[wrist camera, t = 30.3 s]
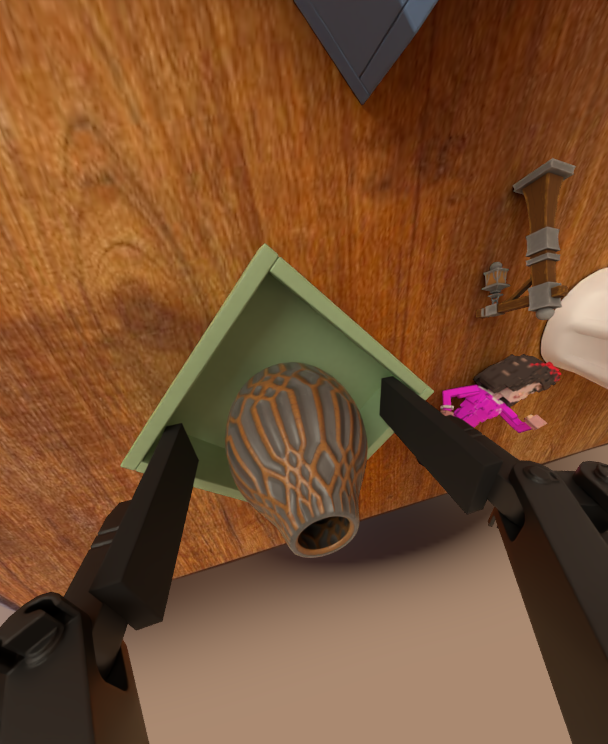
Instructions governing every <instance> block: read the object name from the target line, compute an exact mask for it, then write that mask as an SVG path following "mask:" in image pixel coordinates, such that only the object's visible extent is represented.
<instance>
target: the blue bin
mask: <svg viewBox="0 0 608 744" xmlns="http://www.w3.org/2000/svg"><path fill="white" fill-rule="evenodd" d="M294 2H295V3H296V5H297V6H298V8H299V9H300V11H301V12H302V14H303V15H304V17H305V18H306V20H307V22H308V23H309V25H310V26H311V28H312V29H313V31H314V32H315V34H316V35H317V37H318V38H319V40H320V41H321V43H322V44H323V46H324V48H325V49H326V51H327V52H328V54H329V55H330V57H331V58H332V60H333V61H334V63H335V64H336V66H337V67H338V69H339V71H340V72H341V74H342V75H343V77H344V78H345V80H346V81H347V83H348V84H349V86H350V87H351V89H352V90H353V92H354V94H355V95H356V97H357V98H358V100H359V101H360V103H361V104H362V105H363V104H364V103H365V102H366V100H367V99H368V98H369V96H370V95H371V93H372V92H373V91H374V90H375V88H376V87H377V86H378V84H379V83H380V82H381V80H382V79H383V77H384V76H385V75H386V73H387V72H388V71H389V69H390V68H391V67H392V65H393V64H394V63H395V61H396V60H397V59H398V57H399V56H400V55H401V53H402V52H403V51H404V49H405V48H406V47H407V45H408V44H409V43H410V41H411V40H412V39H413V37H414V36H415V35H416V33H417V32H418V30H419V29H420V27H421V26H422V24H423V23H424V21H425V20H426V18H427V17H428V15H429V14H430V12H431V11H432V9H433V8H434V6H435V5H436V3H437V2H438V0H294Z"/></svg>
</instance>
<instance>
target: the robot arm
mask: <svg viewBox="0 0 608 744" xmlns="http://www.w3.org/2000/svg"><path fill="white" fill-rule="evenodd" d="M379 415H380V417H381V418H382V419H383V420H384V421H385V422H386V423H387V424H388V426H389V427H390V428H391V429H392V430H393V431H394V432H395V434H396V435H397V436H398V437H399V438H400V439H401V440H402V442H403V443H404V444H405V445H406V446H407V447H408V448H409V450H410V451H411V452H412V453H413V454H414V455H415V456H416V457H417V459H418V460H419V461H420V462H421V463H422V464H423V465H424V467H425V468H426V469H427V470H428V471H429V472H430V473H431V475H432V476H433V477H434V478H435V479H436V480H437V481H438V482H439V484H440V485H441V486H442V487H443V488H444V489H445V490H446V492H447V493H448V494H449V495H450V496H451V497H452V498H453V499H454V501H455V502H456V503H457V504H458V505H459V506H460V507H461V509H462V510H463V511H464V512H465V513H466V514H470V513H473V512H476V511H478V510H482V509H483V508H484V506H485V503H486V501H487V499H488V500H489V501H490V502H491V503H492V504H493V505H494V506H495V507H494V509H493V511H492V513H491V515H490V518H489V520H488V526H491V527H492V526H493V524H494V521H495V520H496V522H497V528H498V529H499V531H500V534H501V537H502V540H503V543H504V546H505V549H506V551H507V554H508V557H509V560H510V563H511V566H512V569H513V572H514V575H515V578H516V581H517V584H518V586H519V589H520V592H521V595H522V598H523V601H524V604H525V607H526V610H527V612H528V615H529V618H530V622H531V624H532V627H533V630H534V633H535V636H536V639H537V642H538V645H539V647H540V651H541V653H542V656H543V659H544V662H545V665H546V668H547V671H548V674H549V677H550V680H551V683H552V686H553V689H554V691H555V694H556V697H557V700H558V703H559V706H560V709H561V712H562V715H563V718H564V721H565V723H566V726H567V729H568V732H569V735H570V738H571V741H572V744H608V465H606V464H603V463H600V462H593V461H586V462H582V463H581V464H580V465H579V467H578V469H577V470H576V471H552V470H551V469H549V468H548V467H546V466H543V465H541V464H539V463H535V462H532V461H522V460H521V461H520V460H518V459H517V458H515V457H514V456H512V455H511V454H510V453H508V452H507V451H505V450H504V449H503V448H501V447H500V446H499V445H497V444H496V443H494V442H493V441H492V440H490V439H489V438H488V437H486V436H485V435H482V433H481V432H479V431H478V430H476V429H474V428H473V427H472V426H471V425H470V424H468V423H467V422H465V421H464V420H462V419H460V418H458V417H455V416H453V415H447V416H445V415H443V414H442V413H441V412H440V411H438V410H437V409H436V408H434V407H433V406H432V405H430V404H429V403H428V402H427V401H425V400H424V399H423V398H421V397H420V396H419V395H417V394H416V393H415V392H414V391H412V390H411V389H410V388H408V387H407V386H406V385H404V384H403V383H402V382H400V381H399V380H398V379H397V378H395V377H394V376H390V377H386V378H381V395H380V412H379ZM198 462H199V459H198V457H197V455H196V453H195V451H194V448H193V446H192V444H191V442H190V439H189V437H188V435H187V433H186V431H185V428H184V426H183V424H182V423H179V424H174V425H170V426H166V428H165V430H164V432H163V434H162V436H161V438H160V441H159V443H158V445H157V447H156V449H155V451H154V453H153V455H152V457H151V460H150V462H149V464H148V466H147V468H146V470H145V472H144V474H143V477H142V479H141V481H140V483H139V485H138V487H137V489H136V491H135V494H134V496H133V498H132V500H128V501H125V502H121V503H119V504H118V505H117V506H116V507H115V508H114V509H113V511H112V512H111V513H110V514H109V515H108V516H107V517H106V519H105V521H104V523H103V525H102V527H101V528H100V530H99V532H98V536H96V538H95V540H94V541H93V543H92V545H91V549H90V550H89V551H88V553H87V555H86V556H85V558H84V560H83V562H82V564H81V566H80V568H79V569H78V571H77V573H76V575H75V577H74V579H73V581H72V582H71V584H70V586H69V588H68V590H67V592H66V594H65V595H64V597H63V596H61V595H60V594H58V593H54V592H49V593H46V594H42V595H39V596H37V597H36V598H34V599H32V600H31V601H29V602H27V603H26V604H24V605H23V606H22V607H21V608H20V609H18V610H17V611H16V612H15V613H14V614H12V615H11V616H10V617H9V618H8V619H7V620H6V622H4V623H3V625H2V626H1V627H0V744H149V741H148V737H147V732H146V728H145V723H144V719H143V715H142V710H141V706H140V702H139V698H138V693H137V689H136V684H135V680H134V676H133V671H132V667H131V662H130V658H129V653H128V649H127V646H126V644H125V642H124V641H123V637H124V634H125V631H126V627H127V624H129V625H130V626H131V627H133V628H134V629H135V630H139V629H142V628H144V627H148V626H150V625H153V624H156V623H159V622H162V621H163V616H164V612H165V608H166V603H167V599H168V595H169V590H170V586H171V581H172V577H173V573H174V568H175V564H176V559H177V555H178V551H179V546H180V542H181V537H182V533H183V529H184V524H185V520H186V515H187V511H188V506H189V502H190V498H191V493H192V489H193V484H194V480H195V476H196V471H197V467H198Z"/></svg>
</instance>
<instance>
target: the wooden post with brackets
mask: <svg viewBox="0 0 608 744" xmlns="http://www.w3.org/2000/svg"><path fill="white" fill-rule="evenodd" d="M575 167H576V166H573V165H570V164H567V163H564V162H562V161H559V160H556V159H553V158H552V159H551V160H549V161H548V162H546V163H545V164H543V165H542V166H540V167H539V168H538V169H536V170H535V171H533V172H532V173H530V174H529V175H527V176H526V177H524V178H523V179H521V180H520V181H518V182H517V183H515V184H514V185H513V187H514V192H516V193H520V194H523V195H524V197H525V200H526V205H527V211H528V217H529V223H530V235H528V236H526V239H527V254H526V256H527V257H530V260H528V261H526V263H527V265H526V266H530V267H531V275H530V279H529V280H527V281H526V282H525V283H524V284H523V285H522V286H521V287H520V288H519V289H518V290H517V291H516V292H515V293H514V294H513V295H512V296H511V297H510V298H509V299H508V300H506V301H504V302H502V303H501V304H498V301H497V300H498V299H499V297H500V296H502V295H503V294H498V293H500V292H501V290H502V289H504V288H506V287H509V286H510V284H506V275H507V271H508V270H509V269H505V268H502V263H500V262H495V263H493V264H492V265H491V266H490V271H488V272H485V273H483V274H484V275H485V280H486V287H484V288H482V290H486V291H490V293H489V294H492V295H489V296H488V297H490V298H491V301H492V305H489V306H486V308H482V309H480V310H476V318H486V317H490V316H492V317H494V316H498V315H503V314H505V312H509V311H513V310H517V309H521V308H525V307H529V310H528V311H535V312H536V317H537V318H538V319H540V320H547V319H550V318H551V317H552V316H553V315H554V313H555V312H554V309H556V308H560V307H562V305H561V297H564V296H567V294H568V287H567V286H561V283H556V261H559V260H560V258H559V257H560V255H558V254H556V252H557V251H559V250H560V248H559V245H558V233H559V229H555V216H556V210H557V204H558V198H559V192H560V188H561V185H562V182H563V180H565V179H567V178H568V177H570V176H572V175H573V174H574V173H573V171H574V168H575ZM531 285H532V287H531V288H529V287H530V286H531ZM527 289H528V291H529V296H525V297H522V298H519V297H520V296H521V295H522V294H523V293H524V292H525V291H526V290H527ZM493 298H497V299H494V300H493ZM494 302H496V304H494Z"/></svg>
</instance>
